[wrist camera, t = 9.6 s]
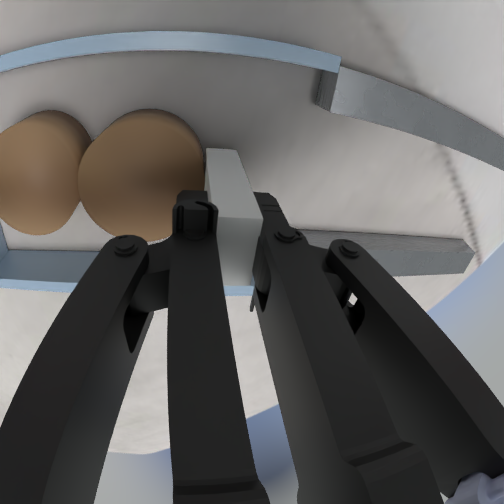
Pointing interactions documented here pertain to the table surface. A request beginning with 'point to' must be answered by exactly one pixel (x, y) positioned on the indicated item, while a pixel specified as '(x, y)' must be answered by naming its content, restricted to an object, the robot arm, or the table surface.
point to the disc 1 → (41, 171)
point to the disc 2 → (140, 173)
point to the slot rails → (420, 124)
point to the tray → (77, 262)
